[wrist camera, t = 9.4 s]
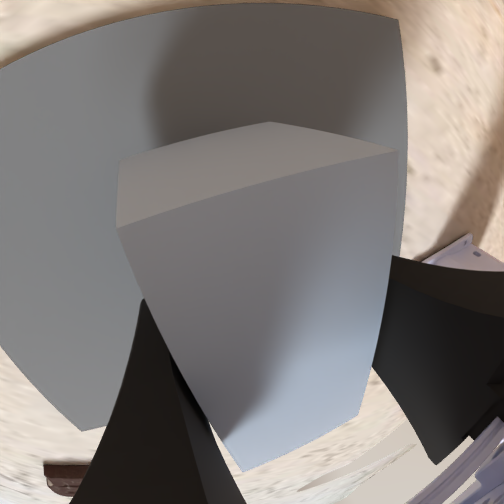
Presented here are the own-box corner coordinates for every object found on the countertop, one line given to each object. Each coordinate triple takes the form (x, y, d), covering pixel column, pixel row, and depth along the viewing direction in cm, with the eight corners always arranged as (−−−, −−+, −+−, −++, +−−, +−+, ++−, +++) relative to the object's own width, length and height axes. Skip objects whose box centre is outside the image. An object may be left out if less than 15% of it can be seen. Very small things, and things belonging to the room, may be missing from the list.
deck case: (292, 333, 13) (357, 414, 9) (198, 371, 12) (242, 472, 8) (269, 121, 9) (398, 150, 5) (119, 160, 7) (115, 229, 3)
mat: (386, 20, 11) (398, 19, 10) (383, 299, 20) (391, 305, 20) (-84, 134, 5) (-94, 137, 4) (80, 421, 14) (81, 431, 14)
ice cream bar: (203, 448, 21) (35, 460, 15) (209, 463, 20) (35, 476, 14) (201, 470, 23) (56, 482, 17) (207, 483, 22) (57, 496, 16)
